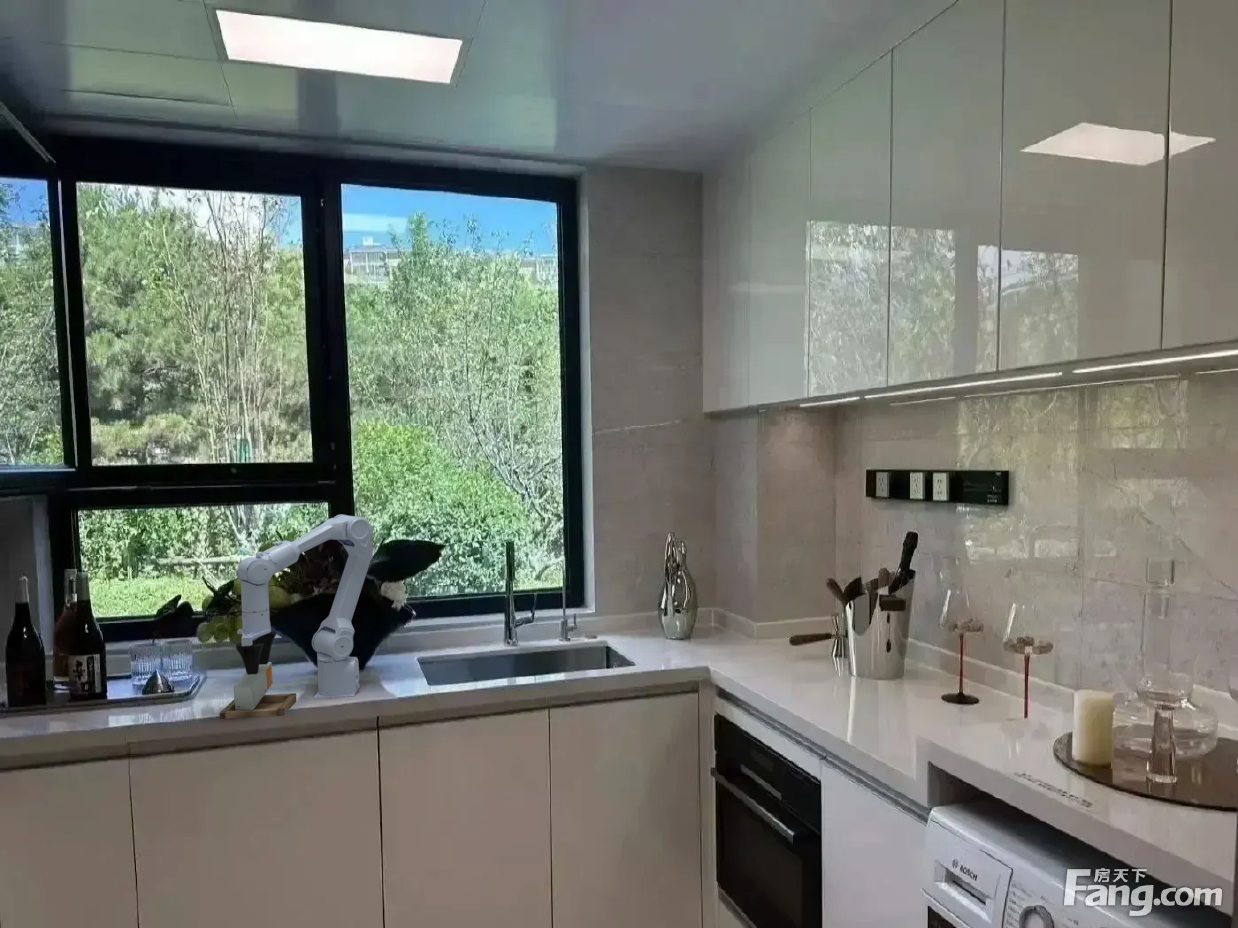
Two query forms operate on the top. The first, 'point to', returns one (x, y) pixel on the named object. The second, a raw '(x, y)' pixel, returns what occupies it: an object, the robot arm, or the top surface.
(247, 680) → the skincare box
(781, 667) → the top surface
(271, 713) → the tray
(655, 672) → the top surface
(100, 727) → the top surface
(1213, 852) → the top surface
